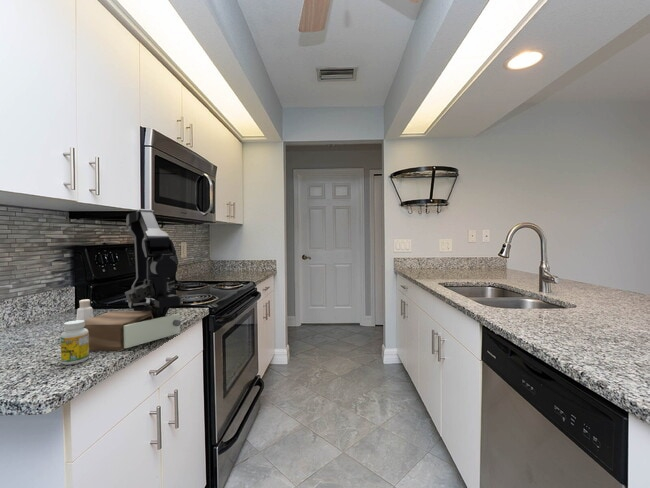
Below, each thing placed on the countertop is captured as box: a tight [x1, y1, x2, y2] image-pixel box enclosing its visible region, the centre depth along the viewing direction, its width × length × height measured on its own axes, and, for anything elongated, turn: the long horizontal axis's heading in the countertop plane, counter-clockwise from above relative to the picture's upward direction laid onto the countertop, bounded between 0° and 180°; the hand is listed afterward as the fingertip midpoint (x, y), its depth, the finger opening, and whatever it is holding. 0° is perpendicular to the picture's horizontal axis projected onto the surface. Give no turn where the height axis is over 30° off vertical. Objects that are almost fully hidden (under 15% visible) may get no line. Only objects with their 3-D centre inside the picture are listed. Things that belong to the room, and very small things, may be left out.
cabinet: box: [84, 310, 153, 352], centre depth 91 cm, size 16×14×7 cm
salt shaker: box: [75, 298, 95, 320], centre depth 97 cm, size 5×5×11 cm
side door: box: [124, 312, 181, 349], centre depth 89 cm, size 16×2×6 cm, turn 150°
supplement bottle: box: [59, 319, 90, 366], centre depth 76 cm, size 5×5×10 cm
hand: (158, 326), depth 96 cm, fingers closed
